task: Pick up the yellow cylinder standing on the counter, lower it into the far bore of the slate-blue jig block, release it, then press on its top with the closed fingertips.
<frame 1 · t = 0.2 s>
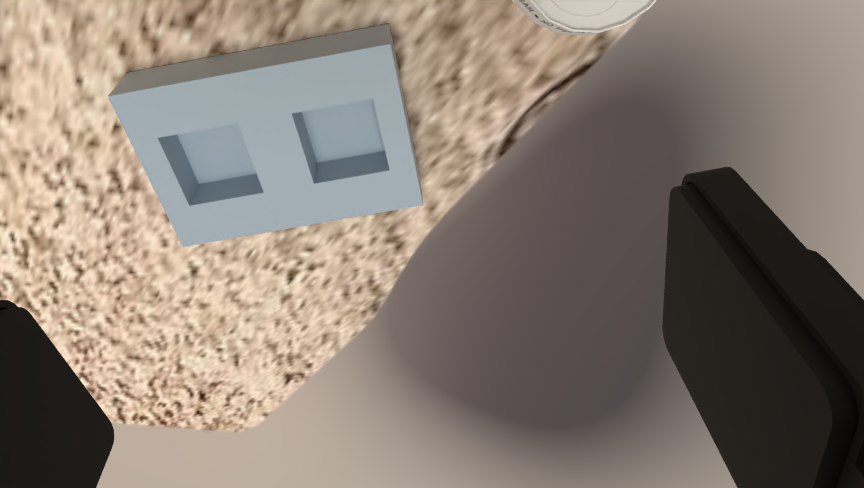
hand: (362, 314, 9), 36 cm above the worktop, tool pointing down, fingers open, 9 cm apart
jig: (284, 128, 46), on the worktop
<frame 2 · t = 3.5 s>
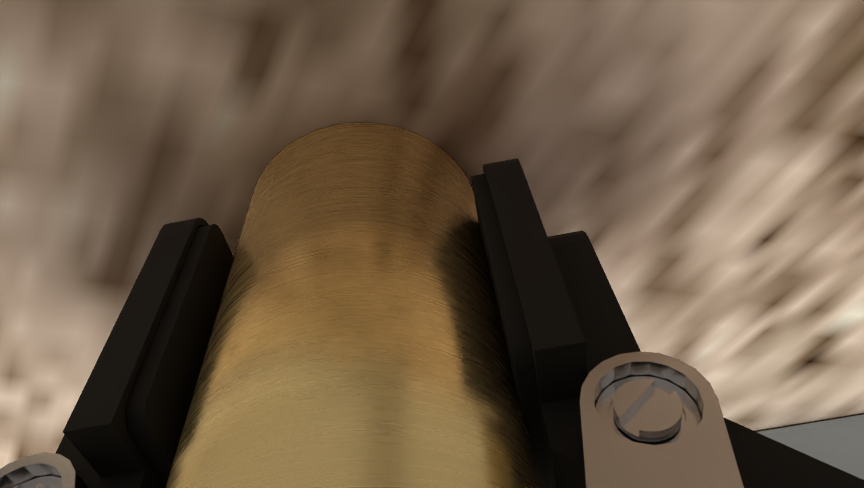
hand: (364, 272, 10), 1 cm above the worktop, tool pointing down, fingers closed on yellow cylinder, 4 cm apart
yellow cylinder: (365, 226, 11), on the worktop, touching gripper
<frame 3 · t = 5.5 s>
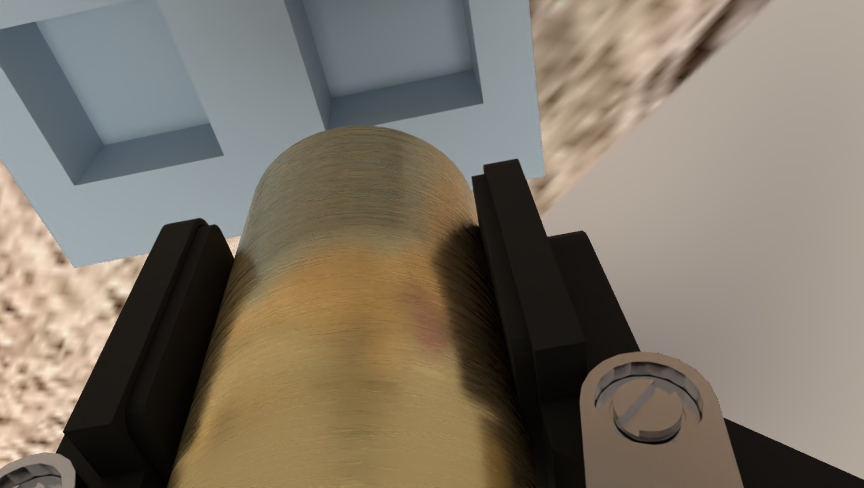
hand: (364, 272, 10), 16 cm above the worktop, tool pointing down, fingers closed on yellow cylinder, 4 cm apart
jig: (265, 29, 23), on the worktop
yellow cylinder: (365, 228, 11), point 14 cm above the worktop, touching gripper
when the fingers open (5 cm above the worktop, at t = 7.8 s): yellow cylinder drops 3 cm, resting on jig.
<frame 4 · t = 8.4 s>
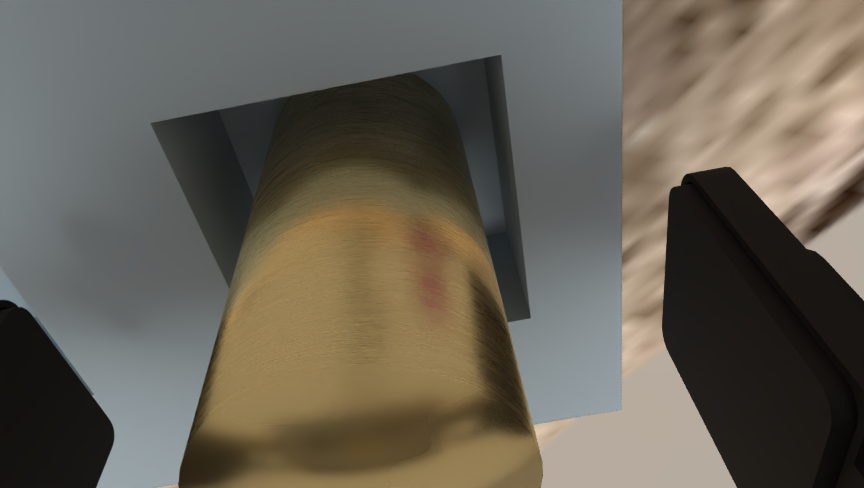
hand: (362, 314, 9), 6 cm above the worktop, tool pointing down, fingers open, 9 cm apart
jig: (175, 168, 15), on the worktop
yellow cylinder: (368, 153, 14), point 1 cm above the worktop, touching jig
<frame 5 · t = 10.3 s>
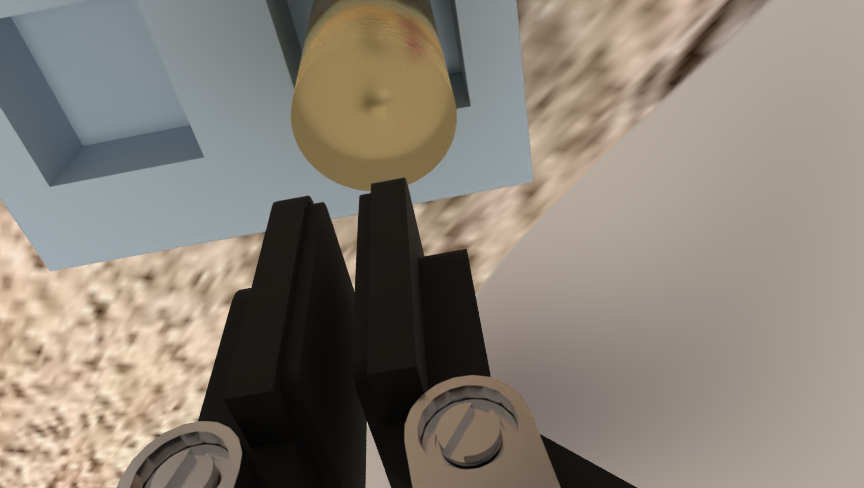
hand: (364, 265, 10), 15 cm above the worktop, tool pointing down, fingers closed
jig: (248, 29, 23), on the worktop
yellow cylinder: (372, 13, 22), point 1 cm above the worktop, touching jig
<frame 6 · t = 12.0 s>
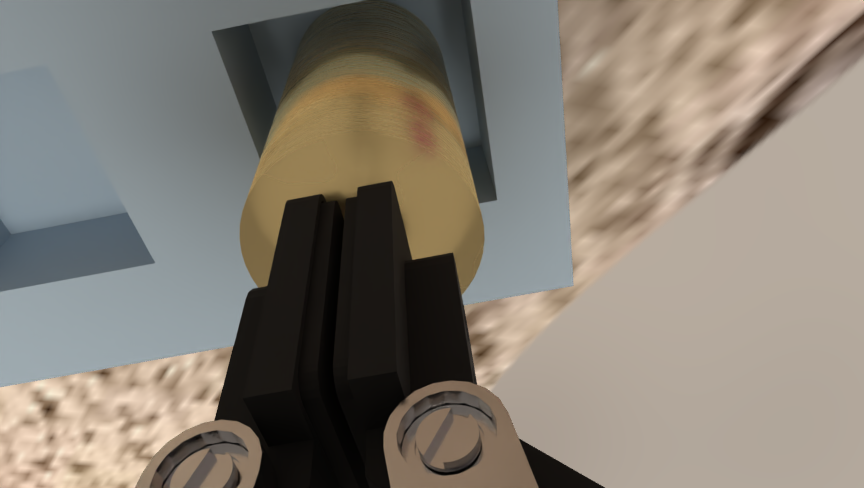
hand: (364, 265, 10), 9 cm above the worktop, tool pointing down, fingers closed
jig: (215, 92, 18), on the worktop
yellow cylinder: (370, 76, 17), point 1 cm above the worktop, touching jig
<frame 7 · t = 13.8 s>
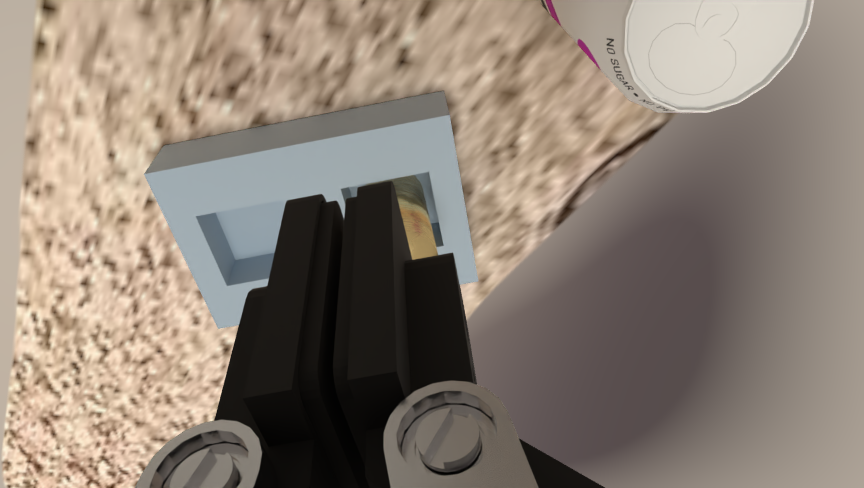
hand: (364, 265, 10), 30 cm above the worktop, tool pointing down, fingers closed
jig: (327, 200, 43), on the worktop
yellow cylinder: (393, 196, 42), point 1 cm above the worktop, touching jig
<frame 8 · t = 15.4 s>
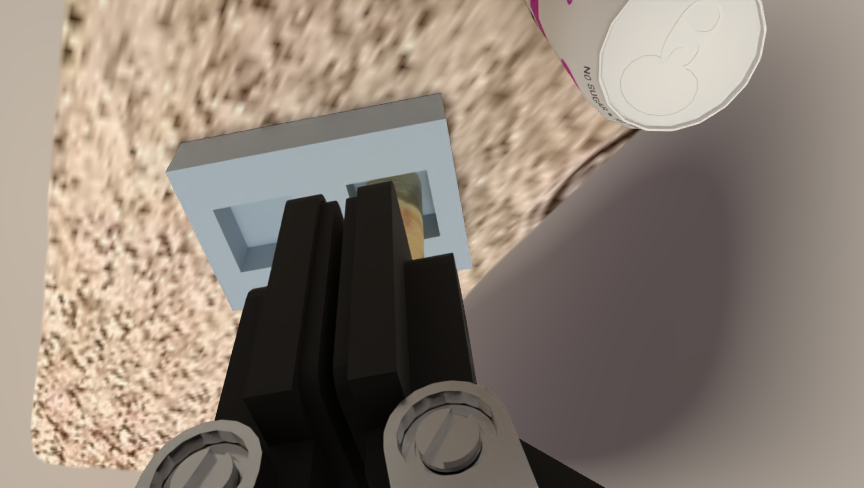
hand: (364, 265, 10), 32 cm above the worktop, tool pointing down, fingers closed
jig: (333, 192, 47), on the worktop
yellow cylinder: (393, 189, 46), point 1 cm above the worktop, touching jig
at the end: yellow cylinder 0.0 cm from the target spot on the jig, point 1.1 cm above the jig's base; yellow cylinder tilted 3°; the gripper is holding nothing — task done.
